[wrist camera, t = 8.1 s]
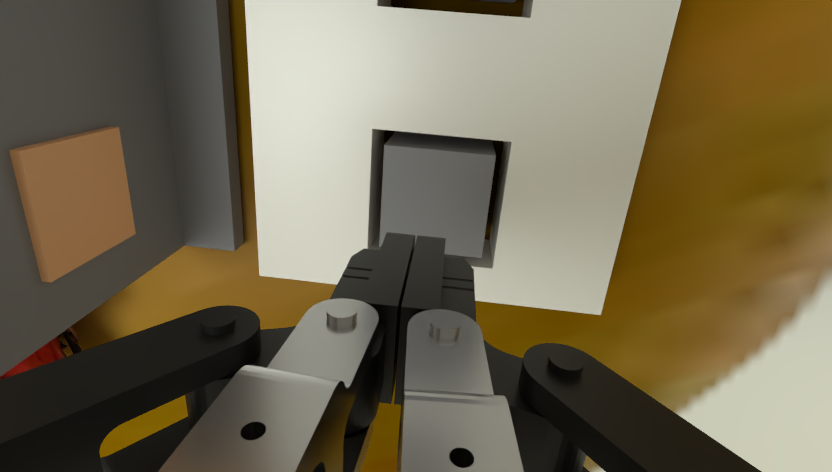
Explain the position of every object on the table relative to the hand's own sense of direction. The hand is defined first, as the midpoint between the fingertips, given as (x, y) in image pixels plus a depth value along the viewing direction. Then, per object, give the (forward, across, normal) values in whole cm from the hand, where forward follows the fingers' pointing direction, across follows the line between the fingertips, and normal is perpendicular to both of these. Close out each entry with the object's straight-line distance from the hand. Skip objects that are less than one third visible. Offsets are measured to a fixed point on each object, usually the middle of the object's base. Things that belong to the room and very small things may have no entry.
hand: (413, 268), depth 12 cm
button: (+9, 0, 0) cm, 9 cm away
